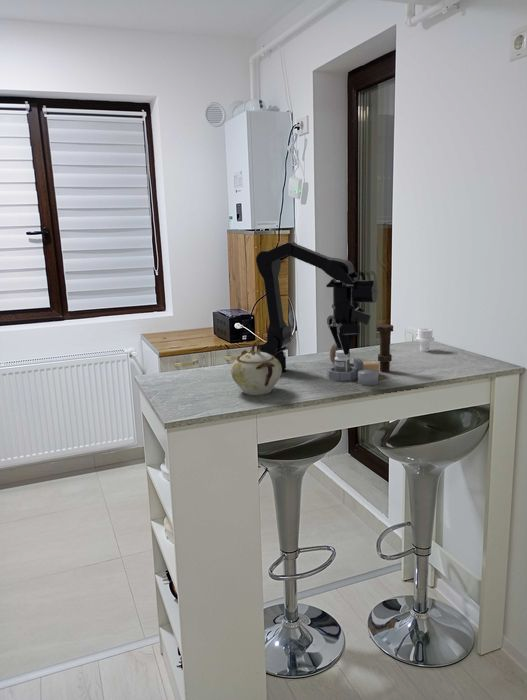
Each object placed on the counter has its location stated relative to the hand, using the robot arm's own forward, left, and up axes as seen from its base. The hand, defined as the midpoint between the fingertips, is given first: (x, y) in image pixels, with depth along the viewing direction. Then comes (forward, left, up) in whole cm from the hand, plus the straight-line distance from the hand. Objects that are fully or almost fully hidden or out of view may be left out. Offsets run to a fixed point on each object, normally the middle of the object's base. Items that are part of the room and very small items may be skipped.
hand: (342, 351), depth 185 cm
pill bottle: (0, 0, -8) cm, 9 cm away
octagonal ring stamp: (+3, 0, -8) cm, 9 cm away
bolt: (+15, +4, -8) cm, 18 cm away
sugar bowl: (-28, -10, -8) cm, 31 cm away
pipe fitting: (+38, +29, -8) cm, 48 cm away
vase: (+3, +16, -8) cm, 18 cm away
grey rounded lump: (+6, -8, -8) cm, 13 cm away
